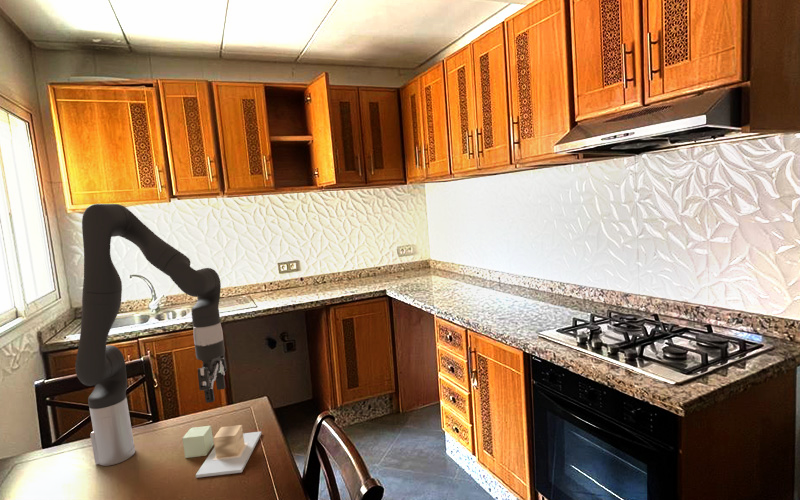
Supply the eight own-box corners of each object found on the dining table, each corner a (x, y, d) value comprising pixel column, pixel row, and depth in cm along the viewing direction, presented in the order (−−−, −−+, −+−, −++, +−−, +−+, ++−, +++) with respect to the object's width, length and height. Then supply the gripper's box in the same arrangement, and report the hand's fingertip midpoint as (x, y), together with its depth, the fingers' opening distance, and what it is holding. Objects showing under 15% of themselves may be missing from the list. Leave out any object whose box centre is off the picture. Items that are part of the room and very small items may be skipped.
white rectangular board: (196, 477, 118) (195, 474, 118) (222, 438, 138) (221, 435, 137) (241, 472, 118) (241, 469, 118) (261, 433, 138) (261, 431, 138)
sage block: (185, 457, 128) (182, 438, 128) (193, 446, 134) (190, 427, 134) (206, 455, 129) (203, 435, 128) (213, 444, 135) (211, 425, 134)
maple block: (216, 458, 125) (213, 437, 124) (223, 446, 131) (221, 427, 130) (238, 455, 125) (235, 435, 124) (244, 444, 131) (241, 424, 130)
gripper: (205, 333, 132) (212, 386, 134) (184, 349, 118) (192, 408, 119) (230, 331, 132) (237, 384, 134) (213, 346, 118) (220, 405, 120)
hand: (216, 395), depth 127 cm, fingers open, 8 cm apart
